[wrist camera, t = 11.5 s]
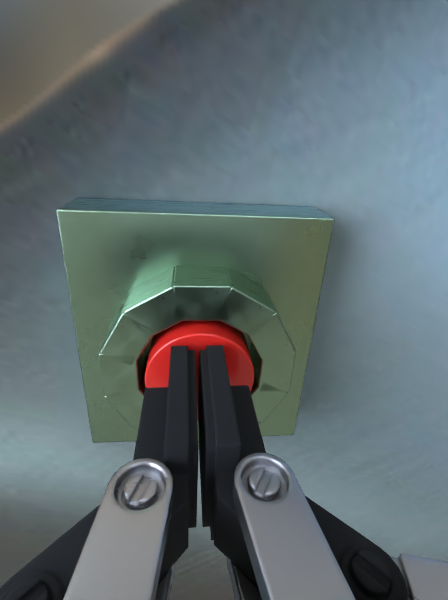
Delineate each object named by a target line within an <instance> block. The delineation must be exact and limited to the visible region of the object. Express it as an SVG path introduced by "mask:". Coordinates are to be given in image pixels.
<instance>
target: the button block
mask: <svg viewBox="0 0 448 600" xmlns="http://www.w3.org/2000/svg"><path fill="white" fill-rule="evenodd" d="M56 213H57V219H58V225H59V232H60V238H61V244H62V251H63V257H64V263H65V270H66V276H67V282H68V289H69V295H70V301H71V308H72V314H73V320H74V327H75V333H76V340H77V346H78V352H79V359H80V365H81V371H82V378H83V384H84V390H85V397H86V403H87V409H88V416H89V422H90V428H91V435H92V441H93V443H98V442H124V441H137V435H138V428H139V422H140V416H141V410H142V404H143V398H144V392H145V388H146V386H145V372H146V366H147V361H148V355H149V350H150V344H151V340H152V338H153V336H154V335H156V334H158V333H160V332H162V331H164V330H166V329H168V328H170V327H172V326H174V325H176V324H178V323H180V322H182V321H222V322H223V323H225V324H227V325H229V326H231V327H233V328H235V329H237V330H239V331H241V332H243V334H244V336H245V340H246V343H247V346H248V350H249V354H250V357H251V361H252V364H253V368H254V382H253V386H252V389H251V391H250V393H251V396H252V400H253V404H254V408H255V412H256V416H257V420H258V424H259V428H260V432H261V436H279V435H293V434H294V429H295V424H296V419H297V413H298V408H299V403H300V398H301V392H302V387H303V382H304V377H305V372H306V366H307V361H308V356H309V351H310V346H311V340H312V335H313V330H314V325H315V319H316V314H317V309H318V304H319V299H320V293H321V288H322V283H323V278H324V273H325V267H326V262H327V257H328V252H329V246H330V241H331V236H332V231H333V226H334V218H332V217H331V216H329V215H327V214H325V213H323V212H322V211H320V210H318V209H316V208H315V207H310V206H283V205H257V204H230V203H203V202H176V201H149V200H122V199H95V198H76V199H74V200H72V201H71V202H69V203H67V204H65V205H63V206H62V207H60V208H58V209H57V210H56ZM197 422H198V421H197ZM198 443H199V432H198Z"/></svg>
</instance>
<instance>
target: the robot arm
mask: <svg viewBox="0 0 448 600" xmlns="http://www.w3.org/2000/svg"><path fill="white" fill-rule="evenodd" d="M198 432H199V455H200V478H201V501H202V523H203V527H207V526H210V530H211V540H214V545H215V546H216V547H217V548H218V549H219V550H220V551H221V552H222V553H223V554H224V555H225V556H227V566H228V570H229V575H230V579H231V583H232V588H233V592H234V596H235V600H448V562H444V561H439V560H433V559H428V558H422V557H417V556H411V555H405V554H400V556H399V558H395V557H390V556H389V555H388V554H387V553H386V552H384V551H383V550H382V549H381V548H380V547H378V546H377V545H375V544H374V543H373V542H371V541H370V540H368V539H367V538H365V537H364V536H362V535H361V534H360V533H358V532H357V531H355V530H354V529H352V528H351V527H349V526H348V525H347V524H345V523H344V522H342V521H341V520H339V519H338V518H336V517H335V516H334V515H332V514H331V513H329V512H328V511H326V510H325V509H323V508H322V507H321V506H319V505H318V504H316V503H315V502H313V501H312V500H310V499H309V498H308V497H306V496H305V495H304V493H303V491H302V489H301V487H300V485H299V483H298V481H297V479H296V477H295V475H294V473H293V471H292V470H291V468H290V467H289V466H288V464H286V463H285V462H284V461H283V460H282V459H280V458H278V457H276V456H274V455H272V454H267V453H266V452H265V448H264V444H263V440H262V436H261V432H260V428H259V424H258V420H257V416H256V412H255V408H254V404H253V400H252V396H251V393H250V389H249V386H248V385H234V386H230V380H229V375H228V369H227V364H226V358H225V353H224V347H223V345H206V350H200V358H199V396H198V422H197V398H196V374H195V350H188V346H171V353H170V367H169V381H168V387H155V388H145V392H144V398H143V404H142V410H141V416H140V422H139V428H138V435H137V441H136V447H135V453H134V459H133V461H130V462H128V463H127V464H125V465H123V466H122V467H120V468H119V469H118V470H117V471H116V472H115V473H114V474H113V476H112V478H111V480H110V481H109V483H108V486H107V488H106V491H105V493H104V496H103V498H102V501H101V504H100V505H99V506H98V507H96V508H95V509H94V510H93V511H92V512H90V513H89V514H88V515H87V516H86V517H84V518H83V519H82V520H81V521H79V522H78V523H77V524H76V525H75V526H73V527H72V528H71V529H70V530H68V531H67V532H66V533H65V534H64V535H62V536H61V537H60V538H59V539H58V540H56V541H55V542H54V543H53V544H51V545H50V546H49V547H48V548H47V549H45V550H44V551H43V552H42V553H40V554H39V555H38V556H37V557H36V558H34V559H33V560H32V561H31V562H30V563H28V564H27V565H26V566H25V567H23V568H22V569H21V570H20V571H19V572H17V573H16V574H15V575H14V576H13V577H11V578H10V579H9V580H8V581H7V582H6V583H5V584H4V585H3V586H2V587H1V588H0V600H169V599H170V592H171V586H172V580H173V573H174V563H175V562H176V561H177V559H178V558H179V557H180V556H181V555H182V554H183V553H184V551H185V550H186V549H187V548H188V528H193V527H196V517H197V481H198Z"/></svg>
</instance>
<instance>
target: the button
mask: <svg viewBox="0 0 448 600" xmlns="http://www.w3.org/2000/svg"><path fill="white" fill-rule="evenodd" d="M206 345H223V347H224V353H225V358H226V364H227V369H228V375H229V380H230V386H234V385H248V386H249V389H250V391H251V389H252V386H253V382H254V368H253V364H252V361H251V357H250V354H249V350H248V346H247V343H246V340H245V336H244V334H243V332H241V331H239V330H237V329H235V328H233V327H231V326H229V325H227V324H225V323H223V322H222V321H182V322H180V323H178V324H176V325H174V326H172V327H170V328H168V329H166V330H164V331H162V332H160V333H158V334H156V335H154V336H153V338H152V340H151V344H150V350H149V355H148V361H147V366H146V372H145V386H146V388H155V387H168V381H169V367H170V353H171V346H188V350H195V374H196V398H197V421H198V396H199V358H200V350H206Z"/></svg>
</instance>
